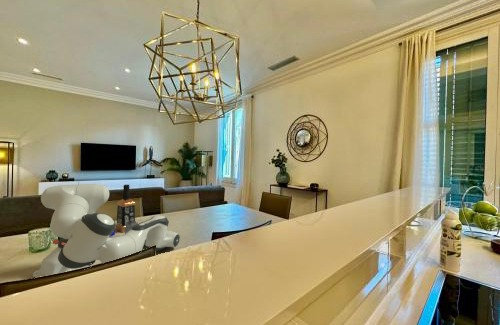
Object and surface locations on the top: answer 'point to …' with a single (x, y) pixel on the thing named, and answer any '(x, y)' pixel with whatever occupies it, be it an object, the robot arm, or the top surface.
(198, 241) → the top surface
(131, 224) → the block
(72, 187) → the robot arm
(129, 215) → the whiskey bottle
